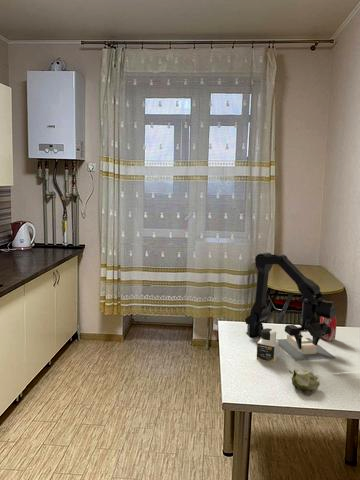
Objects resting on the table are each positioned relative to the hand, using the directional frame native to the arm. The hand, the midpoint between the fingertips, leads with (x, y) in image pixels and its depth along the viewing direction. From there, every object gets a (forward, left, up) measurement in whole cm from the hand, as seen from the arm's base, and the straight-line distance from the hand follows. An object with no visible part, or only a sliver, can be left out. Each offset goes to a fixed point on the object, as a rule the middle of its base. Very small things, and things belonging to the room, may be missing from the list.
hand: (306, 348), depth 176 cm
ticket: (0, +8, -1) cm, 8 cm away
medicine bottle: (-19, -3, -2) cm, 19 cm away
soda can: (+17, +13, -2) cm, 21 cm away
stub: (0, 0, -1) cm, 1 cm away
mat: (0, +3, -2) cm, 4 cm away
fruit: (-16, -29, -2) cm, 34 cm away
